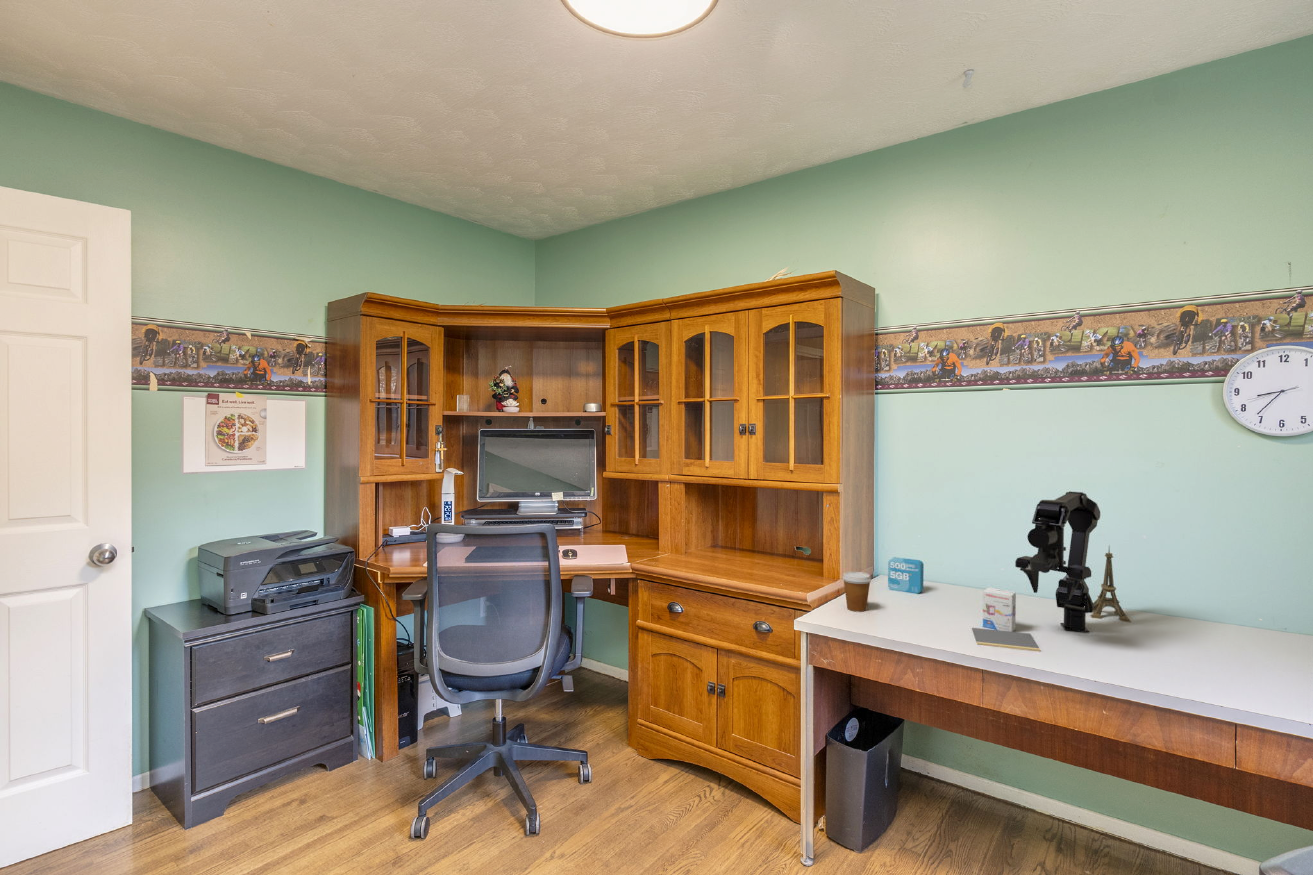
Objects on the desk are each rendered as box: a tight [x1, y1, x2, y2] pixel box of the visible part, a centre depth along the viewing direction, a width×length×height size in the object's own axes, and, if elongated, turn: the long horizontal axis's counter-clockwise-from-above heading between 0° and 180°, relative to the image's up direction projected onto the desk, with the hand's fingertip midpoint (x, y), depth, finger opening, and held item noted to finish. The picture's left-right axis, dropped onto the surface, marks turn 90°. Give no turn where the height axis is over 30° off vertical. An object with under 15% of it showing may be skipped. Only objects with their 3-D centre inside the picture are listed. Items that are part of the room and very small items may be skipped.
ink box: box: [982, 587, 1017, 632], centre depth 201 cm, size 9×5×12 cm, turn 48°
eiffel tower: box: [1090, 546, 1132, 623], centre depth 214 cm, size 11×11×25 cm
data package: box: [887, 556, 924, 595], centre depth 246 cm, size 12×4×12 cm, turn 54°
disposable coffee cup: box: [842, 571, 872, 613], centre depth 222 cm, size 10×10×12 cm
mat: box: [971, 627, 1041, 652], centre depth 191 cm, size 15×16×1 cm
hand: (1051, 596), depth 189 cm, fingers open, 9 cm apart
